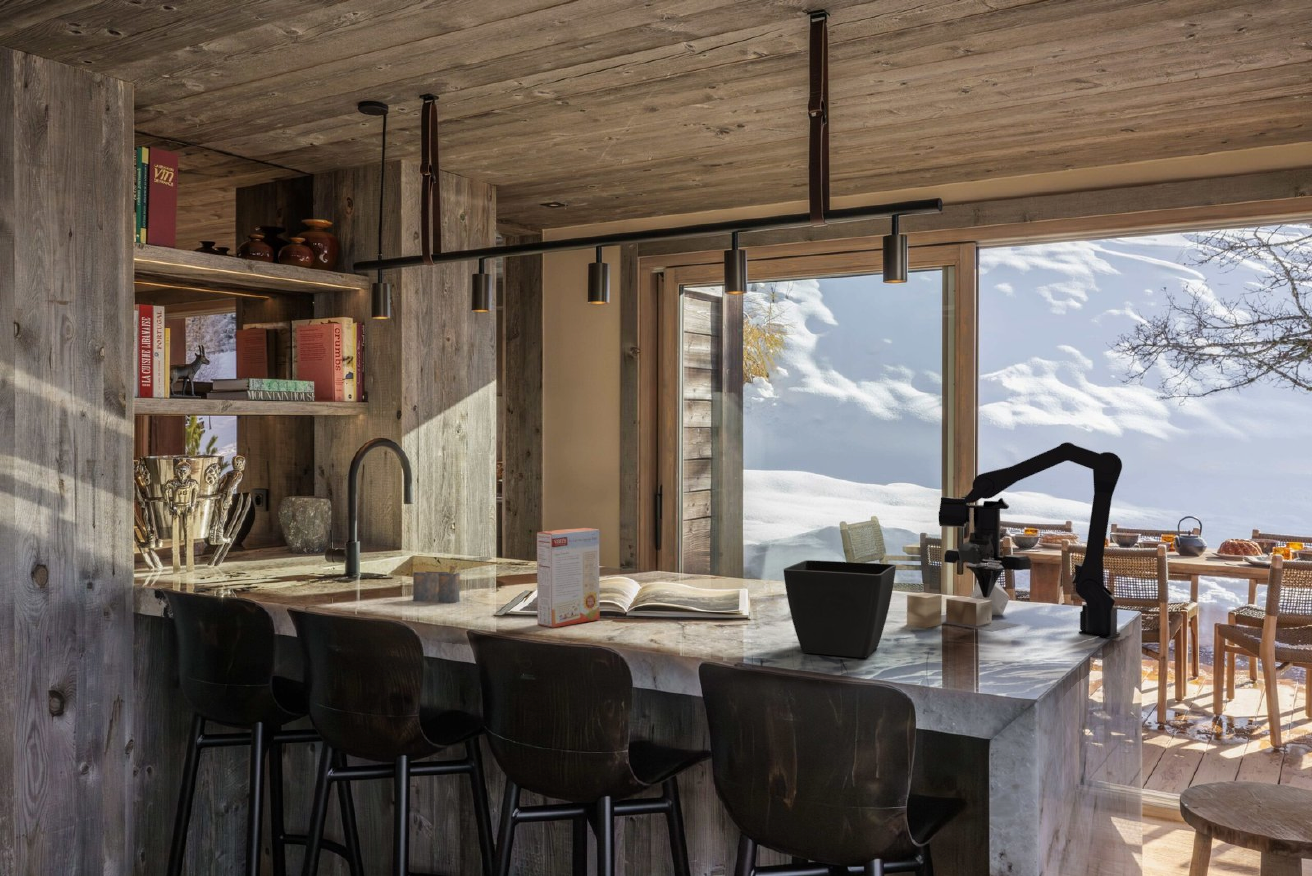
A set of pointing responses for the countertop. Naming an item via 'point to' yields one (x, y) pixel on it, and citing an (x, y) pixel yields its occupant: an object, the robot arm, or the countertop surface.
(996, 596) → the die
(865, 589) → the flower pot
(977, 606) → the walnut block
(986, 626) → the rubber mat
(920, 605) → the oak block
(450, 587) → the grooved slate block
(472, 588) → the countertop surface
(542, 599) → the cracker box
